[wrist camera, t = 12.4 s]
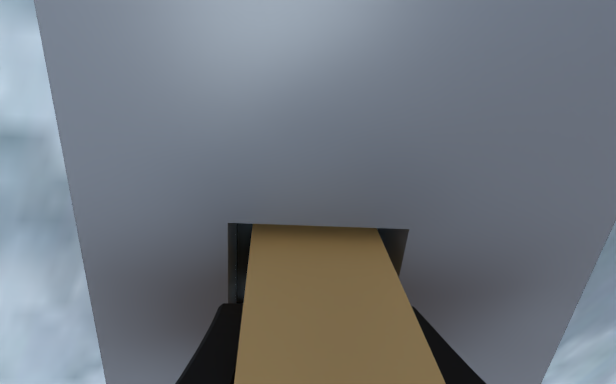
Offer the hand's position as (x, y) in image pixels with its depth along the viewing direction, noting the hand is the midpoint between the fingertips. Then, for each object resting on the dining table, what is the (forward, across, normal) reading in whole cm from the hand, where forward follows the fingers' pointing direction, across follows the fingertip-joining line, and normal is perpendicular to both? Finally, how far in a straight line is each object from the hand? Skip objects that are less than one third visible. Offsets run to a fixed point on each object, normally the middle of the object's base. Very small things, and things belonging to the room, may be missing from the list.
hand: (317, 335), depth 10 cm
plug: (+3, 0, 0) cm, 3 cm away
